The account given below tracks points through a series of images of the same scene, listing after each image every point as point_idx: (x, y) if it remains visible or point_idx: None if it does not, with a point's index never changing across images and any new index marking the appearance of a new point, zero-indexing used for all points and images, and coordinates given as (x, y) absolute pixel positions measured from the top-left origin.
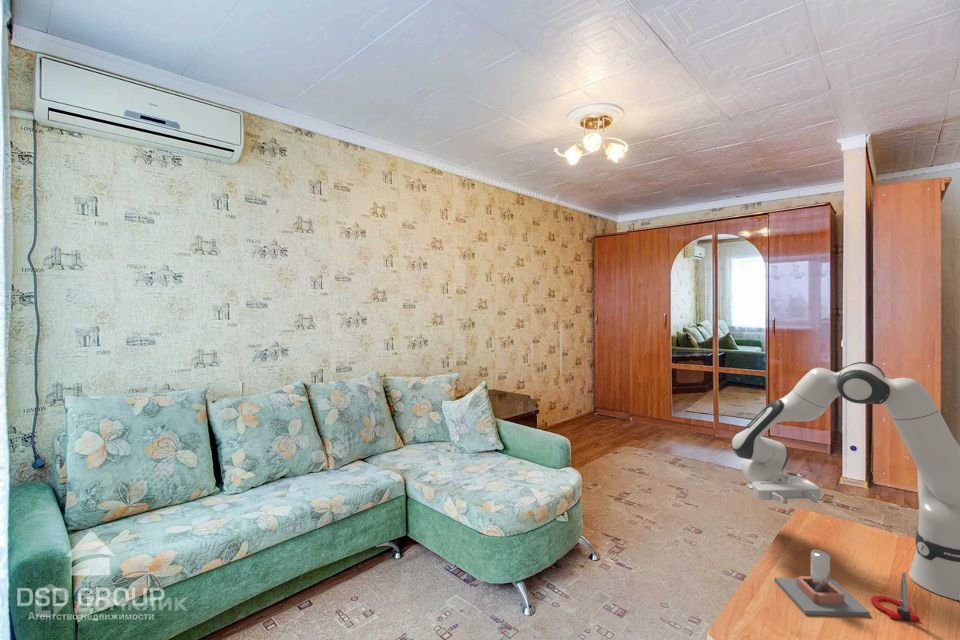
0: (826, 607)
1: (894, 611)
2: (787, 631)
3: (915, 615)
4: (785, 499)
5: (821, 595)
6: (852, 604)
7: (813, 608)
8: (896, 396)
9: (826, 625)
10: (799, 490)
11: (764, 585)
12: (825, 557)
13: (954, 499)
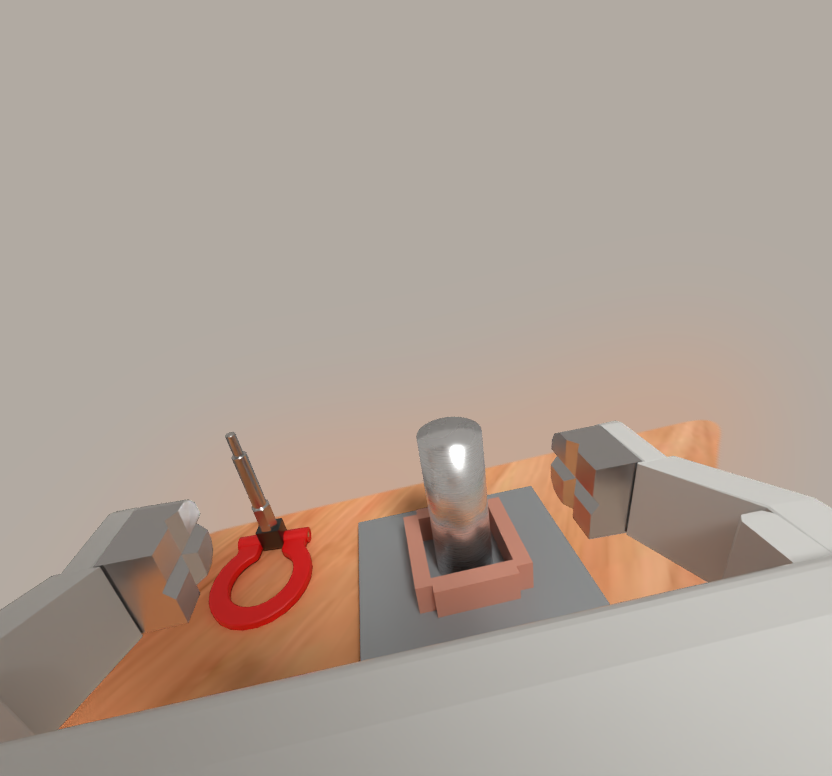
0: None
1: (282, 547)
2: None
3: (244, 538)
4: (578, 432)
5: None
6: (386, 539)
7: (506, 497)
8: None
9: (489, 479)
10: (134, 722)
11: (653, 590)
12: (439, 422)
13: None
